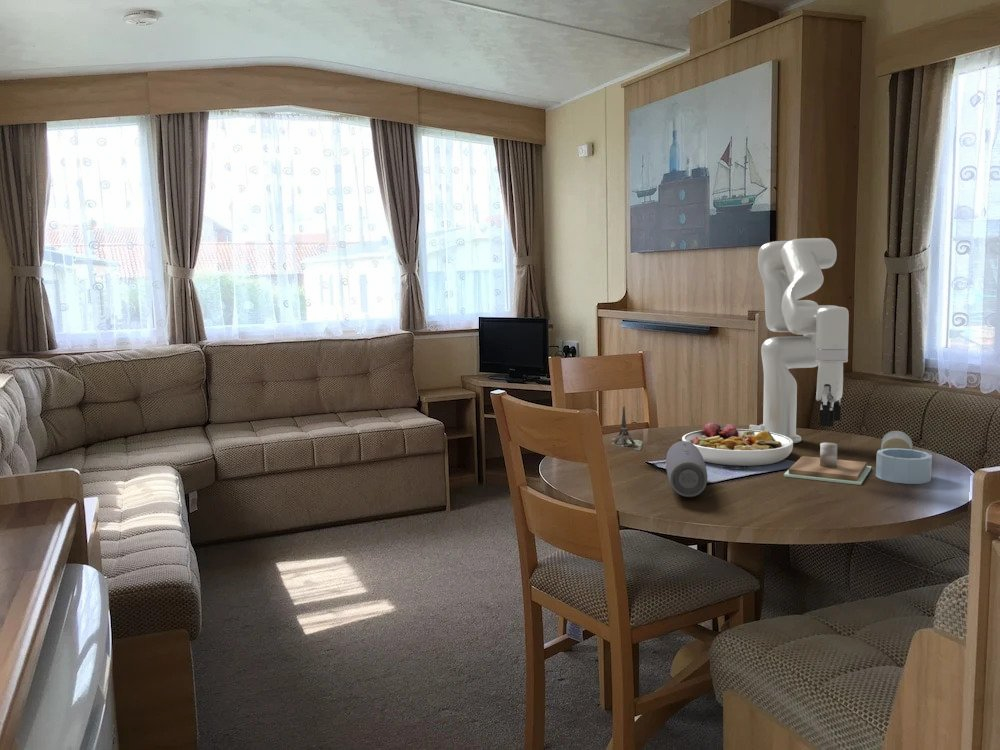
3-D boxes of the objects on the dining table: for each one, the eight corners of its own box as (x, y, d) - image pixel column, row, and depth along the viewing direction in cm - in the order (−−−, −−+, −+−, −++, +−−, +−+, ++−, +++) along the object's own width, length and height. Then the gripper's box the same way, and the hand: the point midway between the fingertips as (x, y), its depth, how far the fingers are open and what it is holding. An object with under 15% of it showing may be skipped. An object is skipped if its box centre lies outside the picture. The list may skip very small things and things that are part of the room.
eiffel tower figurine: (641, 451, 236) (641, 407, 234) (606, 451, 238) (606, 406, 236) (643, 441, 250) (643, 398, 249) (610, 440, 252) (610, 398, 251)
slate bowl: (873, 480, 197) (874, 456, 196) (879, 469, 207) (880, 446, 206) (928, 486, 190) (929, 461, 189) (932, 474, 200) (933, 451, 200)
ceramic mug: (880, 463, 213) (881, 435, 212) (880, 456, 220) (882, 429, 219) (925, 467, 208) (926, 438, 207) (924, 460, 216) (925, 432, 215)
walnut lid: (788, 473, 202) (789, 447, 202) (802, 460, 216) (802, 435, 215) (857, 481, 194) (857, 453, 193) (866, 466, 207) (867, 441, 206)
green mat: (783, 476, 202) (783, 474, 202) (799, 461, 217) (799, 459, 217) (860, 485, 193) (860, 482, 193) (871, 468, 208) (871, 466, 208)
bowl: (816, 461, 218) (817, 433, 217) (725, 474, 207) (726, 444, 206) (745, 441, 246) (745, 415, 245) (661, 451, 235) (661, 424, 234)
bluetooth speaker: (664, 476, 205) (664, 438, 204) (701, 477, 204) (701, 438, 202) (667, 502, 183) (667, 459, 182) (709, 503, 181) (709, 460, 180)
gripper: (822, 353, 210) (821, 417, 212) (808, 358, 196) (807, 427, 197) (853, 353, 206) (851, 419, 208) (841, 359, 192) (840, 429, 193)
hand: (830, 423), depth 203 cm, fingers open, 9 cm apart
